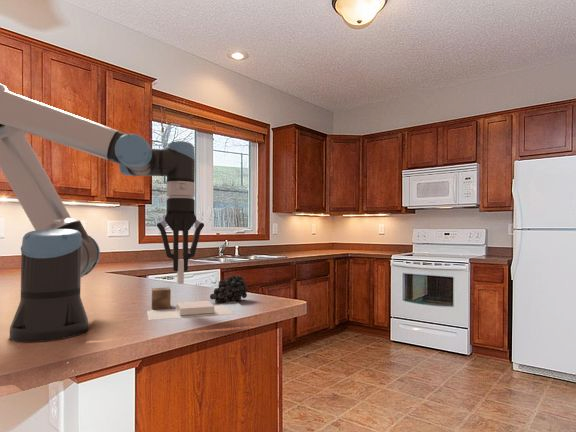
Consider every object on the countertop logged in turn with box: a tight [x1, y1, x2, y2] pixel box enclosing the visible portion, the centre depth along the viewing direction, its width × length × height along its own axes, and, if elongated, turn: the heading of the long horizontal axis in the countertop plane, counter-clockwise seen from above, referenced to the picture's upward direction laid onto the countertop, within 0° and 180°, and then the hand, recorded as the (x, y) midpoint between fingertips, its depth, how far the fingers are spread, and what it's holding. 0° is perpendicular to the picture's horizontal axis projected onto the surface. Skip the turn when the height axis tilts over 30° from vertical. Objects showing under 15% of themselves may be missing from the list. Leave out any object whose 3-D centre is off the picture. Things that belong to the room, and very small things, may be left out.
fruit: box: [209, 275, 249, 304], centre depth 127 cm, size 9×8×15 cm
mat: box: [146, 305, 234, 321], centre depth 108 cm, size 22×12×1 cm, turn 112°
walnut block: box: [151, 286, 172, 310], centre depth 115 cm, size 5×5×6 cm
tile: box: [176, 300, 215, 316], centre depth 109 cm, size 2×9×9 cm
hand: (180, 283), depth 108 cm, fingers closed
